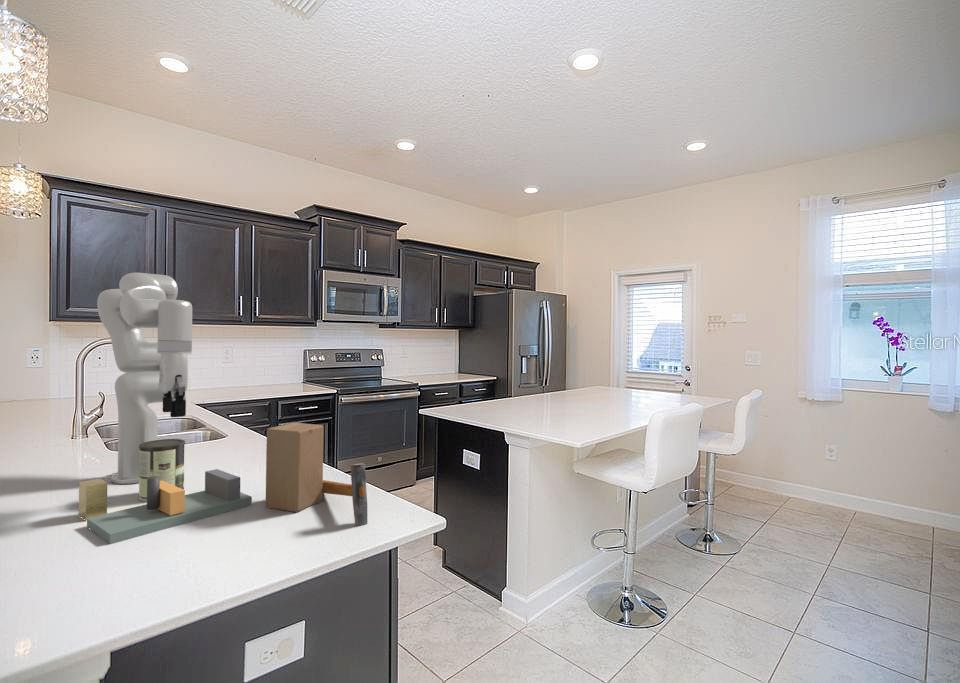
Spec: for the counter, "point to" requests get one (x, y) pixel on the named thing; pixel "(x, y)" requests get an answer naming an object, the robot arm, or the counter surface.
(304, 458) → the wooden block
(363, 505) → the hammer
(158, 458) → the coffee can
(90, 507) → the brass block
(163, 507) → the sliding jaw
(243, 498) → the vise
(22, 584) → the counter surface
